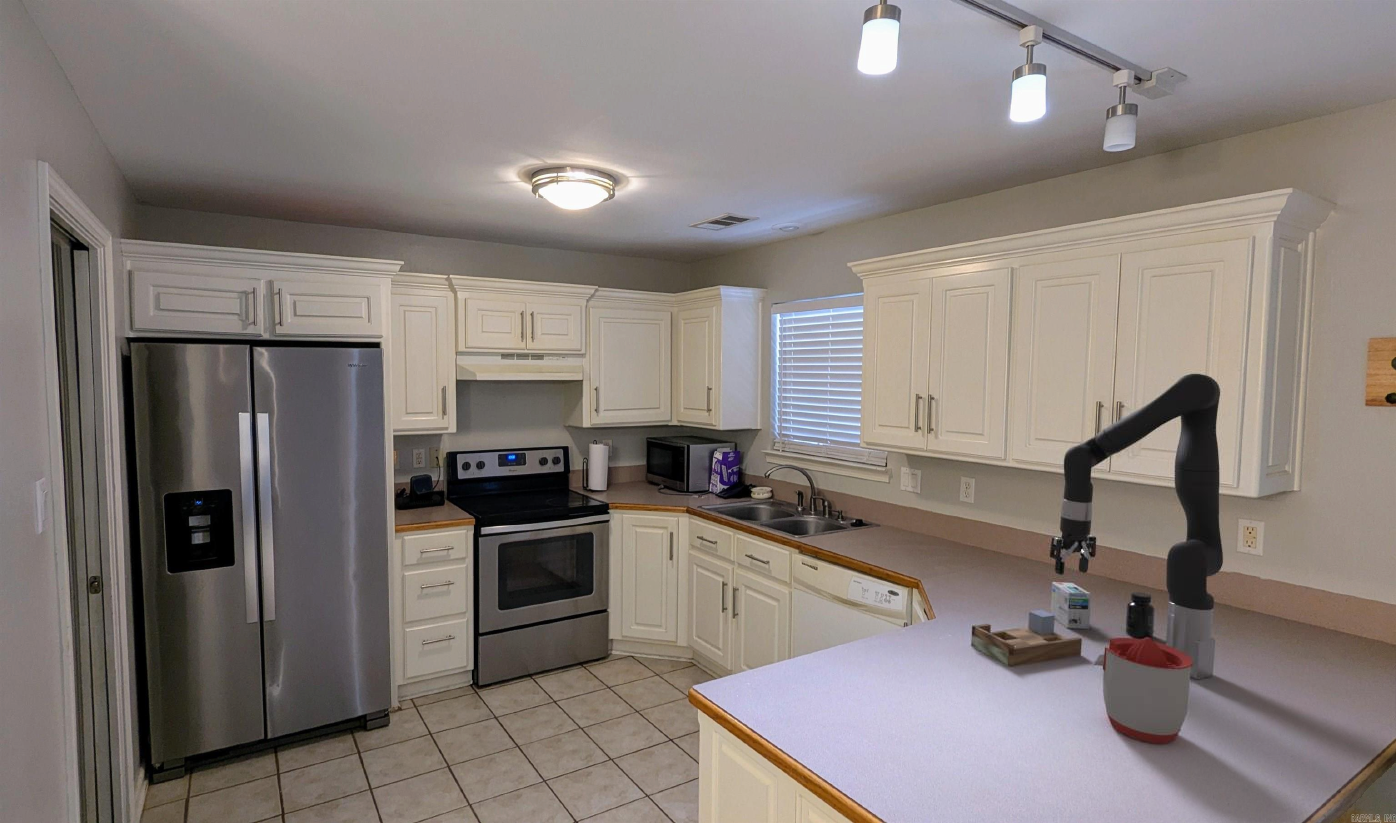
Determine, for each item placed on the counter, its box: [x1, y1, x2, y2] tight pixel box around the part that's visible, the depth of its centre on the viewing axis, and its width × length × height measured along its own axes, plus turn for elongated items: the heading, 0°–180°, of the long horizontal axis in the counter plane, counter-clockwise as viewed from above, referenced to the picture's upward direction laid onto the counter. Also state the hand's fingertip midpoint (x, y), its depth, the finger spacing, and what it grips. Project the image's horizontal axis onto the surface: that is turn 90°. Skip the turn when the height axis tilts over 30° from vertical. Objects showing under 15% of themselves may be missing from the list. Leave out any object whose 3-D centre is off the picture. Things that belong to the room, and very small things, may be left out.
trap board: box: [970, 623, 1083, 667], centre depth 187 cm, size 14×24×6 cm, turn 111°
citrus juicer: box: [1092, 637, 1193, 745], centre depth 146 cm, size 16×17×20 cm
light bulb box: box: [1050, 581, 1092, 629], centre depth 209 cm, size 11×7×11 cm, turn 179°
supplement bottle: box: [1125, 591, 1156, 639], centre depth 200 cm, size 7×7×12 cm
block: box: [1027, 609, 1056, 635], centre depth 194 cm, size 4×4×5 cm
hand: (1071, 572), depth 195 cm, fingers open, 8 cm apart
